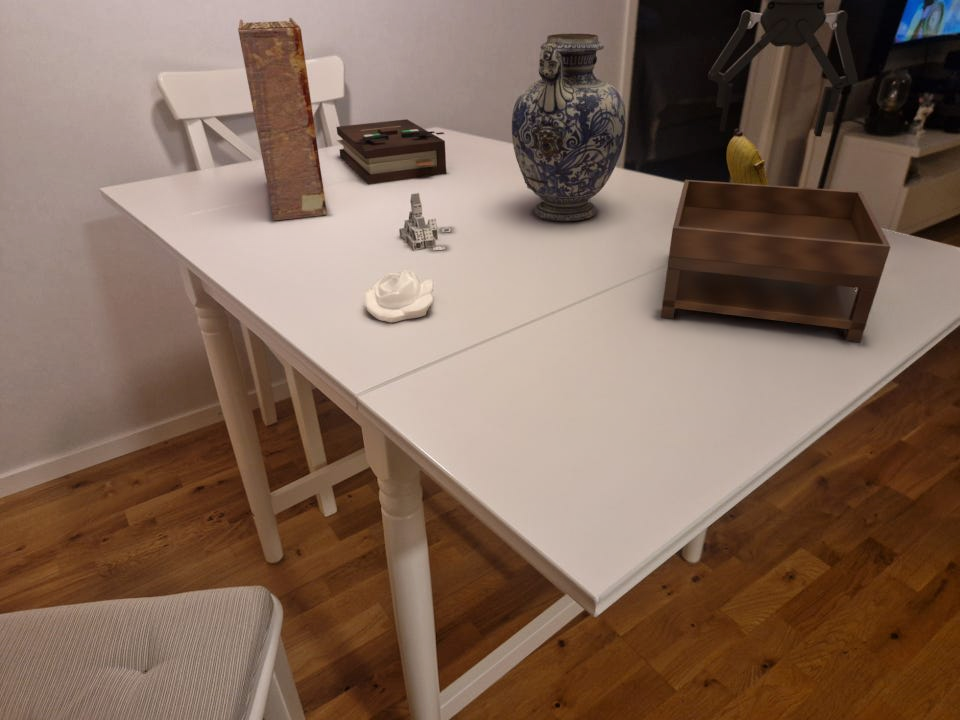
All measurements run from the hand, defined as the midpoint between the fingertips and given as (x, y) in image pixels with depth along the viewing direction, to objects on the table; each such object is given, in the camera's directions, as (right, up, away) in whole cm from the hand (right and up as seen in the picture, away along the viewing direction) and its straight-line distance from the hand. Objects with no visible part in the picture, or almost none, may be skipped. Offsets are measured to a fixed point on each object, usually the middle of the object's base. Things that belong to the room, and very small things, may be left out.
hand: (768, 132), depth 101 cm
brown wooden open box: (-9, -26, -15) cm, 32 cm away
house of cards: (-52, -16, +4) cm, 54 cm away
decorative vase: (-30, -9, +15) cm, 34 cm away
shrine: (0, -13, +7) cm, 15 cm away
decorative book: (-64, +8, +45) cm, 79 cm away
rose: (-54, -28, -16) cm, 63 cm away
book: (-79, -4, +25) cm, 83 cm away
